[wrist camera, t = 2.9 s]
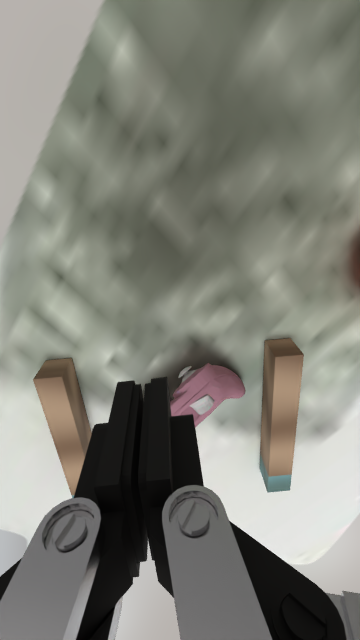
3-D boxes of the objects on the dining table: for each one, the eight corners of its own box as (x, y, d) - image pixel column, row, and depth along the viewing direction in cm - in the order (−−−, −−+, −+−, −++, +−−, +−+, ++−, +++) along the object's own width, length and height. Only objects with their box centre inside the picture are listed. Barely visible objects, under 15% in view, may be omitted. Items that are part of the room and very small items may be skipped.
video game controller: (214, 342, 25) (194, 359, 19) (251, 384, 25) (245, 418, 18) (135, 411, 28) (93, 448, 21) (167, 451, 27) (134, 502, 21)
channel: (45, 360, 23) (33, 379, 21) (290, 338, 24) (303, 354, 21) (83, 485, 29) (76, 510, 27) (280, 466, 29) (289, 490, 27)
